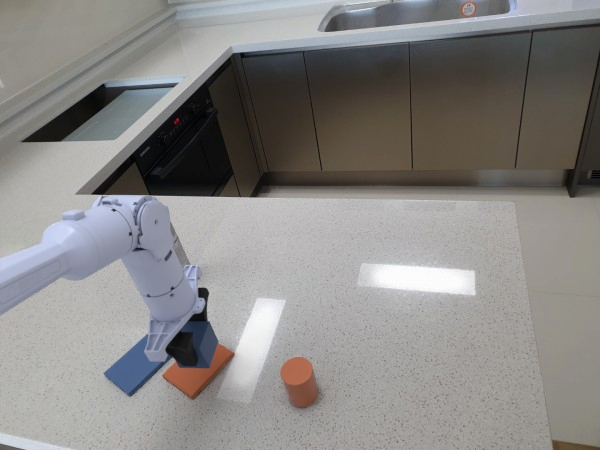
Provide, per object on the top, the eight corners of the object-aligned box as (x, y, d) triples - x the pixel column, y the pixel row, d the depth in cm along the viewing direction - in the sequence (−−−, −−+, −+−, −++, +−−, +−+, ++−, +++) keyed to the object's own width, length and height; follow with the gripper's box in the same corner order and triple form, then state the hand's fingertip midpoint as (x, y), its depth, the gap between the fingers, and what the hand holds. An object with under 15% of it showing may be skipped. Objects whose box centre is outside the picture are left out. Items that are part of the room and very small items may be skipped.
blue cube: (209, 368, 63) (199, 348, 60) (179, 367, 64) (168, 348, 61) (218, 341, 66) (209, 321, 63) (189, 341, 67) (179, 321, 64)
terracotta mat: (192, 399, 67) (190, 396, 67) (163, 378, 71) (161, 375, 71) (234, 355, 73) (233, 352, 72) (205, 337, 76) (203, 334, 76)
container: (170, 275, 90) (141, 215, 81) (193, 267, 91) (166, 207, 82) (172, 291, 87) (141, 230, 78) (196, 283, 87) (168, 221, 78)
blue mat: (130, 397, 70) (128, 394, 69) (105, 376, 74) (103, 373, 73) (174, 353, 75) (173, 350, 74) (149, 336, 79) (147, 333, 78)
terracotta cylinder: (306, 413, 63) (299, 390, 59) (281, 397, 65) (273, 375, 62) (324, 388, 65) (318, 365, 62) (300, 374, 68) (293, 351, 64)
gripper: (169, 327, 49) (207, 396, 58) (209, 239, 61) (235, 308, 69) (111, 327, 51) (156, 395, 59) (160, 241, 62) (192, 308, 70)
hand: (196, 348), depth 64 cm, fingers closed on blue cube, 4 cm apart
